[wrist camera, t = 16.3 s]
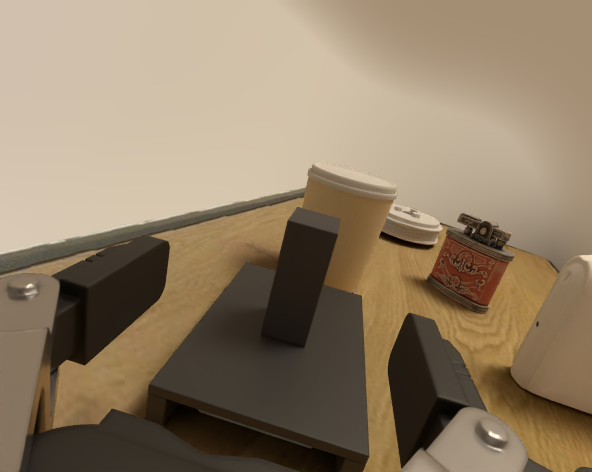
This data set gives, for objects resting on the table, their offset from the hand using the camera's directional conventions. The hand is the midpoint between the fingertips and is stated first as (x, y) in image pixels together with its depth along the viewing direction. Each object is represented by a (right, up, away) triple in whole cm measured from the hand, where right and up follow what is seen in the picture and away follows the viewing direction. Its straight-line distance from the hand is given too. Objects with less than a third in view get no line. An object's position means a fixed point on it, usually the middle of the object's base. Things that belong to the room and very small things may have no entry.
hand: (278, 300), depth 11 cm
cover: (-1, -7, +13) cm, 15 cm away
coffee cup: (+4, -3, +28) cm, 28 cm away
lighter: (+21, -5, +32) cm, 38 cm away
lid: (+20, +2, +53) cm, 56 cm away
